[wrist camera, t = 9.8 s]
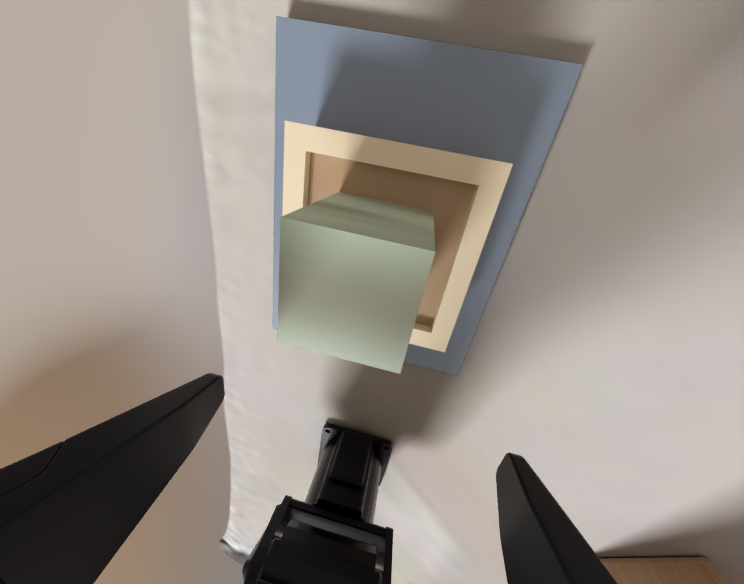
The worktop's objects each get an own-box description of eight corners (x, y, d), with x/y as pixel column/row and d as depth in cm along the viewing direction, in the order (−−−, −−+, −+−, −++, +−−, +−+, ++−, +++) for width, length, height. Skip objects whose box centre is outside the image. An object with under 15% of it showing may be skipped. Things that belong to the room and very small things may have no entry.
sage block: (410, 296, 15) (400, 374, 10) (329, 277, 16) (277, 341, 10) (433, 211, 13) (435, 251, 8) (339, 191, 14) (280, 217, 8)
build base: (455, 366, 21) (461, 416, 17) (278, 321, 23) (245, 358, 19) (573, 70, 13) (636, 33, 9) (286, 24, 14) (229, -27, 10)
